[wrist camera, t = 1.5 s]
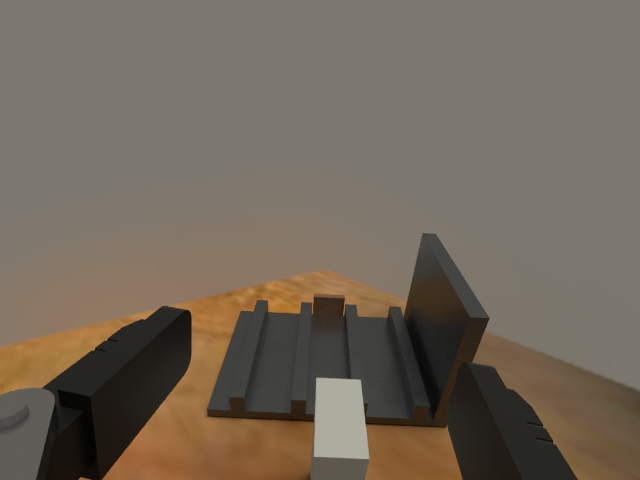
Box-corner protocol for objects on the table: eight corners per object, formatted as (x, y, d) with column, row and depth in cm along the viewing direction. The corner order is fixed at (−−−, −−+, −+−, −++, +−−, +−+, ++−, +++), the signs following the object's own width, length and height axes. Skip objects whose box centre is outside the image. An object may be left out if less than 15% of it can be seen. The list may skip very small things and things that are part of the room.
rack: (411, 321, 44) (434, 231, 38) (446, 426, 32) (489, 318, 25) (242, 313, 44) (234, 221, 38) (208, 415, 31) (186, 303, 25)
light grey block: (345, 473, 28) (360, 379, 22) (349, 550, 23) (369, 459, 17) (310, 471, 28) (316, 377, 22) (307, 549, 23) (313, 456, 17)
